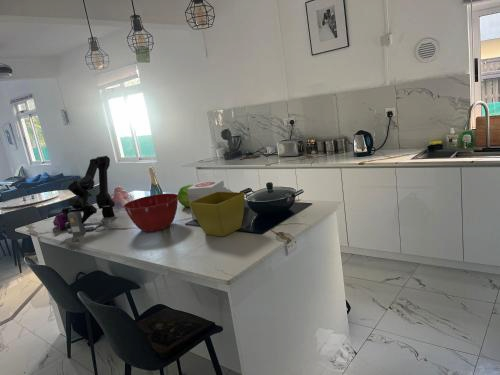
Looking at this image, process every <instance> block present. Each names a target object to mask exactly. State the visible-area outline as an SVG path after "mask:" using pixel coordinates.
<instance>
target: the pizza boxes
mask: <svg viewBox="0 0 500 375" xmlns="http://www.w3.org/2000/svg"><path fill="white" fill-rule="evenodd" d="M192 185H193V186H191V187H189V188H188V189H187V193H188V198H189V203H190V202H191V201H194V200H197V199H199V198H202V197H204V196H207V195H210V194H212V193H215V192H233V191H232V190H231V189H229V188H227V187H225V182H224V180H211V181H200V182H197V183H195V184H192ZM189 208H190V214H191V219H192V220H195V221H197V219H196V217H195V215H194V213H193V210H192V208H191V205H190V207H189Z"/></svg>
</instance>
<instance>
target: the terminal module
mask: <svg viewBox="0 0 500 375" xmlns="http://www.w3.org/2000/svg"><path fill="white" fill-rule="evenodd" d="M67 216H68V219H69V223H70V225H69V227H71V230H72V233H71V235H72V237H81V236H84V235H85V234H87V231H85V227H84V223H85V222H84V223H83V224H82V223H81V222H82V217H83V215H82V212H81V211H77V212H71V213H69V214H67Z"/></svg>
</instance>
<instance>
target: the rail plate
mask: <svg viewBox="0 0 500 375" xmlns="http://www.w3.org/2000/svg"><path fill="white" fill-rule="evenodd" d="M101 226H103V222H102V221H101V220H100V221H90V222H84V227H85V231H86V232H90V231H91V232H92V231H94V230H96V229H98V228H99V227H101ZM69 227H70V226H69ZM67 233H69V234H72V230H71V227H70V228H67Z"/></svg>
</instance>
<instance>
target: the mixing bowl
mask: <svg viewBox="0 0 500 375" xmlns="http://www.w3.org/2000/svg"><path fill="white" fill-rule="evenodd" d="M178 203H179V201H178V193H177V194H176V193H159V194H153V195H147V196H143V197H139V198H137V199H133V200H130V201H128V202H127V203H125V204H124V205H123V208H124V210H125V212H126V214H127V216H128V217H129V218H130V220H131V221H132V223H133V224H134V225H135V226H136V228H138V229H139V230H141V231H143V232H146V233H155V232H158V231H162V230H165V229H168V227H170V225H172V224H173V222H174V220H175V218H176V216H177V215H176V214H177V210H178Z"/></svg>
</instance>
